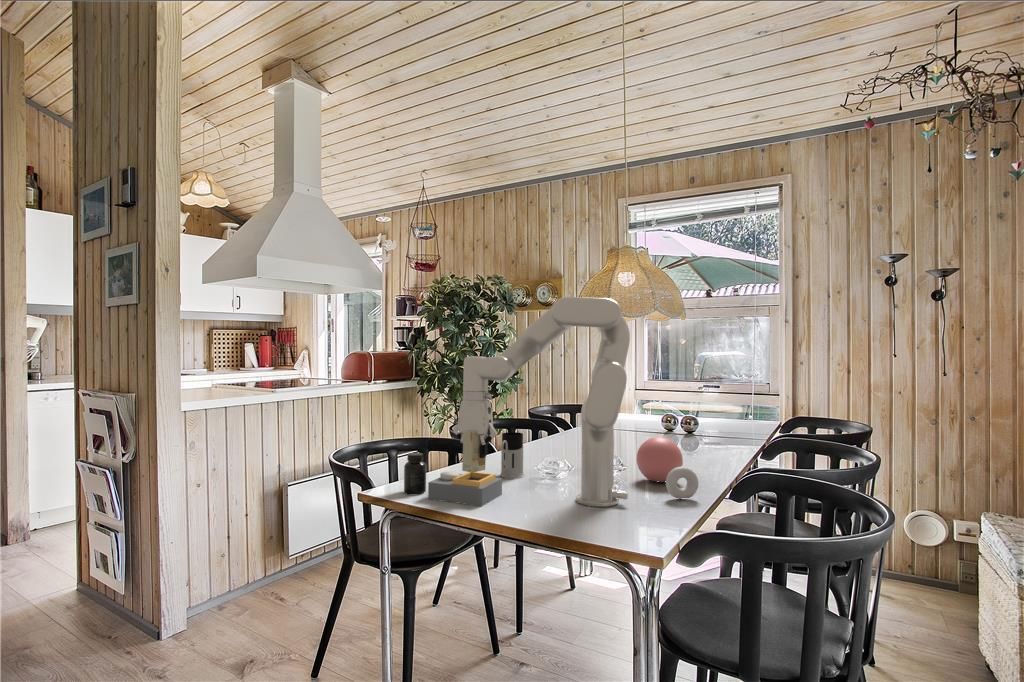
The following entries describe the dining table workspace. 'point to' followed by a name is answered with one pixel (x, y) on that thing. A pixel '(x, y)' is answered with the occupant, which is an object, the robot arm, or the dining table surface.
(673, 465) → the pink ellipsoid
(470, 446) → the skincare box
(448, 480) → the grey rectangular block
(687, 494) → the donut
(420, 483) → the supplement bottle
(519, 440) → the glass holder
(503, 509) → the dining table surface
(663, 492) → the dining table surface
